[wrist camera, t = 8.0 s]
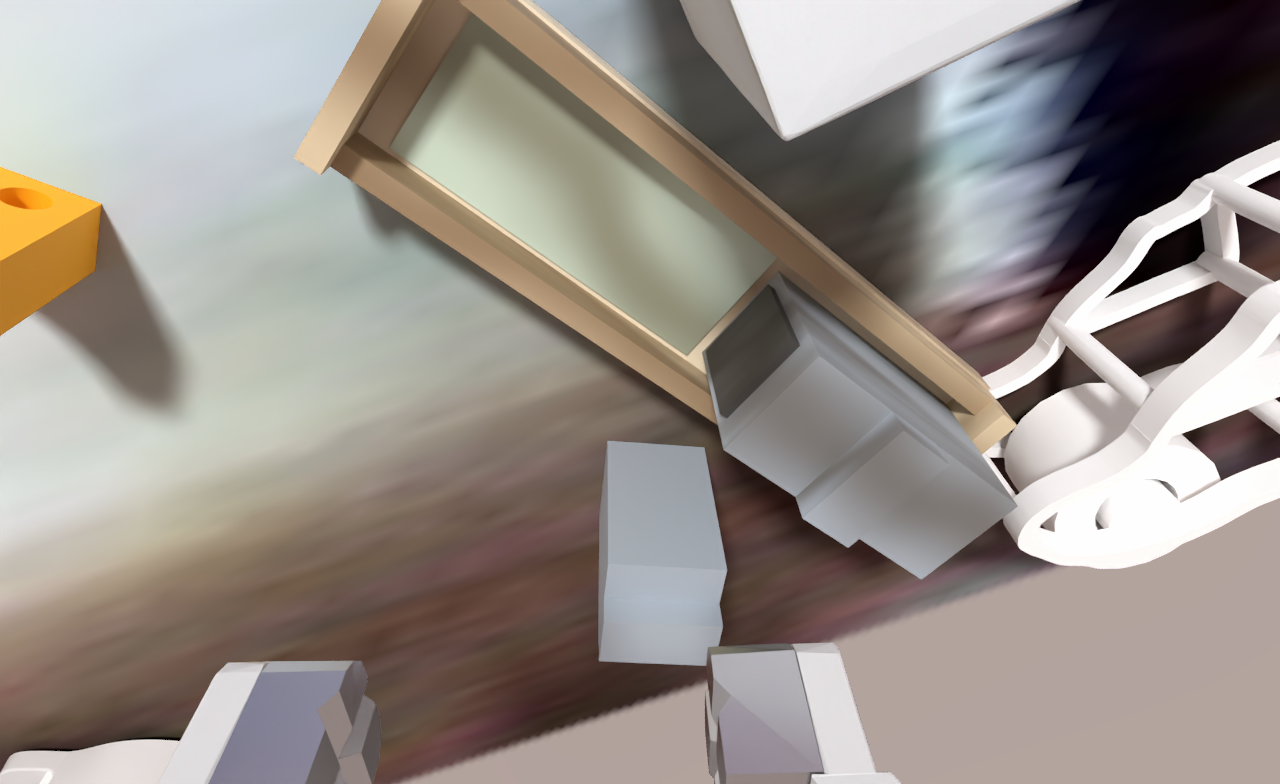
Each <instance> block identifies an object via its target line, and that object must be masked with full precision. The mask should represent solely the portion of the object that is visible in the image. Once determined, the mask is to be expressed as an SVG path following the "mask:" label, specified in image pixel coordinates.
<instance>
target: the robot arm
mask: <svg viewBox="0 0 1280 784" xmlns="http://www.w3.org/2000/svg"><path fill="white" fill-rule="evenodd" d="M706 671H707V680H708V690H707V691H706V692H705V732H706V744H707V755H708V765H709V773H710V775H711V776H712V777H713V778H714V779H715V780H714V784H902V783H901V782H900V781H899V780H898V779H897V778H896V777H895V776H894V775H893V774H892V773H891V772H877V771H876V768H875V764H874V761H873V758H872V754H871V751H870V748H869V745H868V741H867V738H866V735H865V732H864V728H863V725H862V722H861V719H860V716H859V712H858V709H857V706H856V703H855V699H854V696H853V693H852V690H851V687H850V683H849V680H848V677H847V674H846V670H845V667H844V664H843V660H842V657H841V654H840V651H839V649H838V648H837V647H836V645H835V644H834V643H805V644H791V645H790V644H789V643H781V644H760V645H740V646H719V647H708V650H707V660H706ZM367 681H368V677H367V675H366V672H365V669H364V667H363V664H362V661H280V662H236V663H227V664H226V665H225V666H224V667H223V668H222V669H221V670H220V671H219V672H218V673H217V674H216V675H215V676H214V678H213V680H212V682H211V684H210V686H209V688H208V690H207V691H206V693H205V695H204V697H203V699H202V701H201V703H200V704H199V706H198V708H197V710H196V712H195V714H194V716H193V718H192V719H191V721H190V723H189V725H188V727H187V729H186V731H185V733H184V734H183V736H182V738H181V740H180V741H172V740H150V739H146V740H128V741H120V742H113V743H108V744H103V745H99V746H95V747H91V748H87V749H83V750H77V751H70V752H66V751H23V752H17V753H14V754H12V755H11V756H10V757H9V758H8V760H7V762H6V764H5V765H4V767H3V769H2V771H1V773H0V784H373V781H374V777H375V773H376V769H377V766H378V762H379V754H380V744H381V724H380V716H379V712H378V709H377V705H376V703H375V702H373V701H372V700H370V699H369V698H367V697H366V696H365V695H363V694H364V691H365V688H366V685H367Z"/></svg>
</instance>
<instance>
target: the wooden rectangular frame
mask: <svg viewBox="0 0 1280 784" xmlns="http://www.w3.org/2000/svg"><path fill="white" fill-rule="evenodd" d="M294 158H295V159H297V160H298V161H300V162H301V163H303V164H304V165H306V166H307V167H309V168H310V169H312V170H313V171H315V172H316V173H318V174H319V175H321V174H322V173H323V172H325V171H326V170H327V169H328V168H329V167H332V168H333V169H335V170H336V171H338V172H339V173H341V174H342V175H344V176H345V177H347V178H348V179H350V180H351V181H353V182H354V183H356V184H357V185H359V186H360V187H362V188H363V189H365V190H366V191H368V192H369V193H371V194H372V195H374V196H375V197H377V198H378V199H380V200H381V201H383V202H384V203H386V204H387V205H389V206H390V207H392V208H393V209H395V210H396V211H398V212H399V213H401V214H402V215H404V216H405V217H407V218H408V219H410V220H411V221H413V222H414V223H416V224H417V225H419V226H420V227H422V228H423V229H425V230H426V231H428V232H429V233H431V234H432V235H434V236H435V237H437V238H438V239H440V240H441V241H443V242H444V243H446V244H447V245H449V246H450V247H452V248H453V249H455V250H456V251H458V252H459V253H461V254H462V255H464V256H465V257H467V258H468V259H470V260H471V261H473V262H474V263H476V264H477V265H479V266H480V267H482V268H483V269H485V270H486V271H488V272H489V273H491V274H492V275H494V276H495V277H497V278H498V279H500V280H501V281H503V282H504V283H506V284H507V285H509V286H510V287H512V288H513V289H515V290H516V291H518V292H519V293H521V294H522V295H524V296H525V297H527V298H528V299H530V300H531V301H533V302H534V303H535V304H537V305H538V306H540V307H541V308H543V309H544V310H546V311H547V312H549V313H550V314H552V315H553V316H555V317H556V318H558V319H559V320H561V321H562V322H564V323H565V324H567V325H568V326H570V327H571V328H573V329H574V330H576V331H577V332H579V333H580V334H582V335H583V336H585V337H586V338H588V339H589V340H591V341H592V342H594V343H595V344H597V345H598V346H600V347H601V348H603V349H604V350H606V351H607V352H609V353H610V354H612V355H613V356H615V357H616V358H618V359H619V360H621V361H622V362H624V363H625V364H627V365H628V366H630V367H631V368H633V369H634V370H636V371H637V372H639V373H640V374H642V375H643V376H645V377H646V378H648V379H649V380H651V381H652V382H654V383H655V384H657V385H658V386H660V387H661V388H663V389H664V390H666V391H667V392H669V393H670V394H672V395H673V396H675V397H676V398H678V399H679V400H681V401H682V402H684V403H685V404H687V405H688V406H690V407H691V408H693V409H694V410H696V411H697V412H699V413H700V414H702V415H703V416H705V417H706V418H708V419H709V420H711V421H712V422H714V423H715V424H717V425H718V427H719V432H720V436H721V441H722V445H723V450H724V451H726V452H728V453H729V454H731V455H732V456H734V457H735V458H737V459H738V460H740V461H741V462H743V463H744V464H746V465H747V466H749V467H750V468H752V469H753V470H755V471H757V472H758V473H760V474H761V475H763V476H764V477H766V478H767V479H769V480H770V481H772V482H773V483H775V484H776V485H778V486H779V487H781V488H782V489H784V490H786V491H787V492H789V493H790V494H792V495H793V496H795V497H796V500H797V503H798V506H799V509H800V513H801V516H802V518H803V519H804V520H806V521H807V522H809V523H810V524H812V525H813V526H815V527H817V528H818V529H820V530H821V531H823V532H824V533H826V534H827V535H829V536H830V537H832V538H834V539H835V540H837V541H838V542H840V543H841V544H843V545H844V546H846V547H848V548H849V547H850V546H851V545H852V544H854V543H855V542H856V541H857V540H859V539H860V540H862V541H863V542H865V543H866V544H868V545H869V546H871V547H873V548H874V549H876V550H877V551H879V552H880V553H882V554H883V555H885V556H886V557H888V558H889V559H891V560H892V561H894V562H895V563H897V564H898V565H900V566H902V567H903V568H905V569H906V570H908V571H909V572H911V573H912V574H914V575H915V576H917V577H918V578H920V579H921V580H922V579H923V578H924V577H925V576H927V575H928V574H929V573H931V572H932V571H933V570H935V569H936V568H937V567H939V566H940V565H941V564H943V563H944V562H945V561H947V560H948V559H949V558H950V557H952V556H953V555H954V554H956V553H957V552H958V551H960V550H961V549H962V548H964V547H965V546H966V545H968V544H969V543H970V542H972V541H973V540H974V539H975V538H977V537H978V536H979V535H981V534H982V533H983V532H985V531H986V530H987V529H989V528H990V527H991V526H993V525H994V524H995V523H997V522H998V521H999V520H1001V519H1002V518H1003V517H1004V516H1006V515H1007V514H1008V513H1010V512H1011V511H1012V510H1014V509H1015V508H1016V507H1018V506H1017V504H1016V503H1015V501H1014V500H1013V499H1012V497H1011V496H1010V494H1009V493H1008V491H1007V490H1006V489H1005V487H1004V486H1003V484H1002V483H1001V481H1000V480H999V479H998V477H997V476H996V474H995V473H994V471H993V470H992V469H991V467H990V466H989V464H988V463H987V461H986V460H985V459H984V457H983V456H982V454H983V453H985V452H986V451H987V450H988V449H989V448H991V447H992V446H993V445H994V444H996V443H997V442H998V441H999V440H1001V439H1002V438H1003V437H1004V436H1005V435H1007V434H1008V433H1009V432H1010V431H1012V430H1013V429H1014V428H1015V427H1017V425H1016V423H1015V422H1014V421H1013V420H1012V419H1011V417H1010V416H1009V415H1008V414H1007V412H1006V411H1005V410H1004V409H1003V407H1002V406H1001V405H1000V404H999V402H998V401H997V400H996V399H995V398H994V396H993V395H992V394H991V393H990V391H989V390H990V389H991V388H990V387H989V386H988V385H987V383H986V382H985V381H984V380H983V378H982V377H981V376H980V375H979V374H978V372H976V371H975V370H974V369H973V368H972V367H970V366H969V365H968V364H967V363H966V362H964V361H963V360H962V359H961V358H960V357H958V356H957V355H956V354H955V353H954V352H952V351H951V350H950V349H949V348H948V347H946V346H945V345H944V344H943V343H942V342H941V341H939V340H938V339H937V338H936V337H935V336H933V335H932V334H931V333H930V332H929V331H927V330H926V329H925V328H924V327H923V326H921V325H920V324H919V323H918V322H917V321H915V320H914V319H913V318H912V317H911V316H909V315H908V314H907V313H906V312H905V311H903V310H902V309H901V308H900V307H899V306H897V305H896V304H895V303H894V302H893V301H891V300H890V299H889V298H888V297H887V296H885V295H884V294H883V293H882V292H881V291H879V290H878V289H877V288H876V287H875V286H873V285H872V284H871V283H870V282H869V281H867V280H866V279H865V278H864V277H863V276H861V275H860V274H859V273H858V272H857V271H855V270H854V269H853V268H852V267H851V266H849V265H848V264H847V263H846V262H845V261H843V260H842V259H841V258H840V257H839V256H837V255H836V254H835V253H834V252H833V251H831V250H830V249H829V248H828V247H827V246H825V245H824V244H823V243H822V242H821V241H820V240H818V239H817V238H816V237H815V236H814V235H812V234H811V233H810V232H809V231H808V230H806V229H805V228H804V227H803V226H802V225H800V224H799V223H798V222H797V221H796V220H794V219H793V218H792V217H791V216H790V215H788V214H787V213H786V212H785V211H784V210H782V209H781V208H780V207H779V206H778V205H776V204H775V203H774V202H773V201H772V200H770V199H769V198H768V197H767V196H766V195H764V194H763V193H762V192H761V191H760V190H758V189H757V188H756V187H755V186H754V185H752V184H751V183H750V182H749V181H748V180H746V179H745V178H744V177H743V176H742V175H740V174H739V173H738V172H737V171H736V170H734V169H733V168H732V167H731V166H730V165H728V164H727V163H726V162H725V161H724V160H722V159H721V158H720V157H719V156H718V155H716V154H715V153H714V152H713V151H712V150H710V149H709V148H708V147H707V146H706V145H705V144H703V143H702V142H701V141H700V140H699V139H697V138H696V137H695V136H694V135H693V134H691V133H690V132H689V131H688V130H687V129H685V128H684V127H683V126H682V125H681V124H679V123H678V122H677V121H676V120H675V119H673V118H672V117H671V116H670V115H669V114H667V113H666V112H665V111H664V110H663V109H661V108H660V107H659V106H658V105H657V104H655V103H654V102H653V101H652V100H651V99H649V98H648V97H647V96H646V95H645V94H643V93H642V92H641V91H640V90H639V89H637V88H636V87H635V86H634V85H633V84H631V83H630V82H629V81H628V80H627V79H625V78H624V77H623V76H622V75H621V74H619V73H618V72H617V71H616V70H615V69H613V68H612V67H611V66H610V65H609V64H607V63H606V62H605V61H604V60H603V59H601V58H600V57H599V56H598V55H597V54H595V53H594V52H593V51H592V50H591V49H589V48H588V47H587V46H586V45H585V44H584V43H582V42H581V41H580V40H579V39H578V38H576V37H575V36H574V35H573V34H572V33H570V32H569V31H568V30H567V29H566V28H564V27H563V26H562V25H561V24H560V23H558V22H557V21H556V20H555V19H554V18H552V17H551V16H550V15H549V14H548V13H546V12H545V11H544V10H543V9H542V8H540V7H539V6H538V5H537V4H536V3H534V2H533V1H532V0H381V2H380V4H379V6H378V8H377V9H376V11H375V13H374V15H373V17H372V18H371V20H370V22H369V24H368V25H367V27H366V29H365V31H364V33H363V34H362V36H361V38H360V40H359V42H358V43H357V45H356V47H355V49H354V51H353V52H352V54H351V56H350V58H349V60H348V61H347V63H346V65H345V67H344V68H343V70H342V72H341V74H340V76H339V77H338V79H337V81H336V83H335V85H334V86H333V88H332V90H331V92H330V94H329V95H328V97H327V99H326V101H325V102H324V104H323V106H322V108H321V110H320V111H319V113H318V115H317V117H316V119H315V120H314V122H313V124H312V126H311V128H310V129H309V131H308V133H307V135H306V136H305V138H304V140H303V142H302V144H301V145H300V147H299V149H298V151H297V153H296V154H295V156H294Z"/></svg>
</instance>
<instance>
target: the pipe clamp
mask: <svg viewBox="0 0 1280 784" xmlns="http://www.w3.org/2000/svg"><path fill="white" fill-rule="evenodd" d="M101 205H102V204H100V203H98V202H95V201H92V200H89V199H87V198H84V197H81V196H78V195H76V194H73V193H70V192H67V191H65V190H62V189H59V188H56V187H54V186H51V185H48V184H45V183H43V182H40V181H37V180H34V179H32V178H29V177H26V176H24V175H21V174H18V173H15V172H13V171H10V170H7V169H4V168H2V167H0V336H1V335H2V334H4V333H5V332H6V331H8V330H9V329H11V328H12V327H14V326H15V325H17V324H18V323H20V322H21V321H22V320H24V319H25V318H27V317H28V316H30V315H31V314H33V313H34V312H36V311H37V310H38V309H40V308H41V307H43V306H44V305H46V304H47V303H49V302H50V301H52V300H53V299H54V298H56V297H57V296H59V295H60V294H62V293H63V292H65V291H66V290H68V289H69V288H71V287H72V286H73V285H75V284H76V283H78V282H79V281H81V280H82V279H84V278H85V277H87V276H88V275H89V274H91V273H92V272H94V271H95V266H96V256H97V246H98V235H99V225H100V215H101Z"/></svg>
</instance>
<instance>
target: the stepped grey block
mask: <svg viewBox="0 0 1280 784" xmlns="http://www.w3.org/2000/svg"><path fill="white" fill-rule="evenodd" d="M726 573H727V566H726V561H725V556H724V550H723V545H722V540H721V534H720V529H719V524H718V518H717V513H716V508H715V502H714V497H713V491H712V486H711V481H710V475H709V470H708V465H707V459H706V454H705V449H704V447H690V446H676V445H661V444H646V443H632V442H617V441H608V442H607V451H606V460H605V470H604V479H603V488H602V497H601V506H600V516H599V620H598V646H599V661H605V662H629V663H652V664H676V665H700V666H706V660H707V650H708V647H718V646H719V642H720V637H721V633H722V629H723V623H722V617H721V611H720V605H719V603H720V599H721V595H722V590H723V586H724V582H725V578H726Z"/></svg>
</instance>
